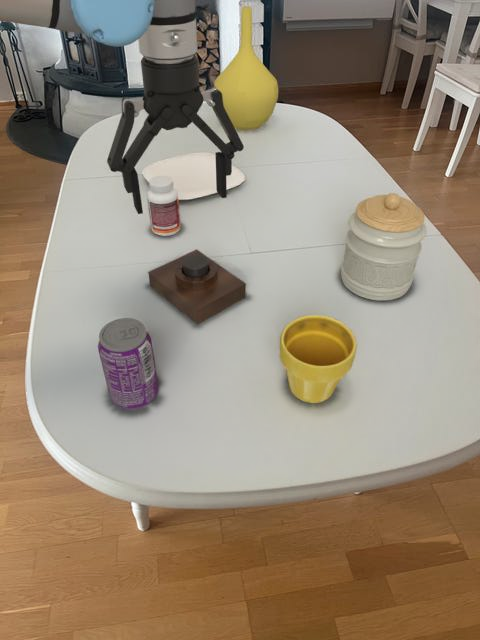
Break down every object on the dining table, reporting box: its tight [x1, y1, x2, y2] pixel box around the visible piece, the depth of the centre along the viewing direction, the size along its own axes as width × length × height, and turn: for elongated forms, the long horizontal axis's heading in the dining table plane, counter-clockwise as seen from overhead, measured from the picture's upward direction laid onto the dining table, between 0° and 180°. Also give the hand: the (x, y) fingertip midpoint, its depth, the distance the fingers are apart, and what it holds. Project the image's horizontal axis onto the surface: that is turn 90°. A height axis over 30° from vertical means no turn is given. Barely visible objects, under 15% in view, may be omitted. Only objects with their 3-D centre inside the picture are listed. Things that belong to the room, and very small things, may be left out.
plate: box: [142, 151, 246, 202], centre depth 126 cm, size 22×22×2 cm
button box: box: [147, 249, 247, 325], centre depth 92 cm, size 14×11×5 cm
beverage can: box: [97, 317, 160, 410], centre depth 72 cm, size 7×7×12 cm
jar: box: [340, 192, 427, 301], centre depth 91 cm, size 13×13×18 cm
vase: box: [213, 6, 279, 131], centre depth 143 cm, size 18×18×30 cm
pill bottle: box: [146, 176, 182, 237], centre depth 106 cm, size 6×6×11 cm
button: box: [182, 255, 208, 278], centre depth 90 cm, size 4×4×2 cm
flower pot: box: [279, 314, 358, 404], centre depth 74 cm, size 10×10×10 cm
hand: (181, 202), depth 82 cm, fingers open, 13 cm apart
